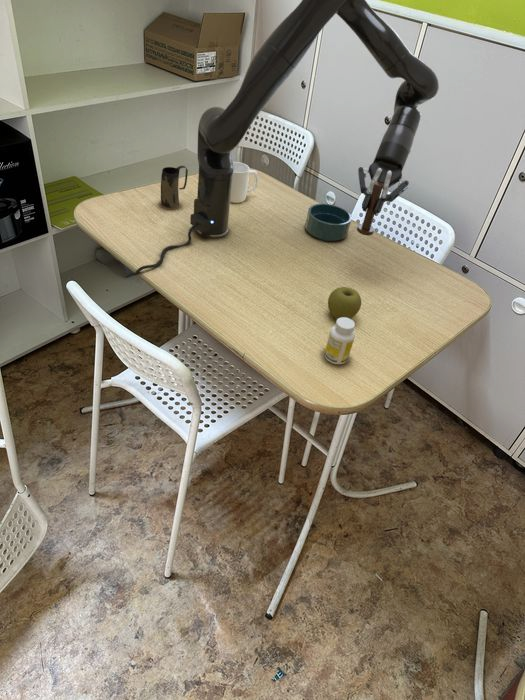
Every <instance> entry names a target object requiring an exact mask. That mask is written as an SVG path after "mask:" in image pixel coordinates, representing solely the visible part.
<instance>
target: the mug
mask: <svg viewBox="0 0 525 700" xmlns="http://www.w3.org/2000/svg"><path fill="white" fill-rule="evenodd" d="M181 169H185V174H184V175H185V178H184V184H183V186H182V187H179V183H180V181H179V179H180V171H181ZM188 172H189V170H188V168H187V166H185V165H179V166H177V167H173V166H165V167H164V168H162V170H161V177H160V206H161V207H162V208H163V209H165V210H168V211H169V210H171V211H173V210H177V209H179V208H180V197H179V196H180V195H179V190H180V191H181V190H185V189H186V186H187V182H188Z"/></svg>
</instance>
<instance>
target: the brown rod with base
mask: <svg viewBox="0 0 525 700" xmlns="http://www.w3.org/2000/svg"><path fill="white" fill-rule="evenodd" d="M382 190H383V183H381V182H375V183H374V187H373V190H372V194H371V197H370V201H369V204H368V208H367V210H366V212H365V215H364V218H363V221H362V223H360V224H358V225H357V227H356V232H357V233H359V234H360V235H363V236H372V235H374V234H375V233H374V232H375V228H374V226H372V225H373V221H374V218H375V215H374V210H375V207H376V205H377V202H378V200H379V198H380V197H381V194H382Z"/></svg>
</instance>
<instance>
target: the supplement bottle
mask: <svg viewBox="0 0 525 700" xmlns="http://www.w3.org/2000/svg"><path fill="white" fill-rule="evenodd" d="M355 327H356V323H355V321H354V320H353V319H352V318H350V319H349V318H346V317H341V318H338V319H337V318H336V321H335V325H334V326H332V327H331V329H330V331H329V336H328V337H327V338H328V339H327V342H326V345H325V350H324V357H325V359H326V360H327V361H328V362H330V363H331V364H333V365H343V364H345V363H347V362H348V359H349V358H350V355H351V350H352V347H353V344H354V342H355V338H356V337H355V336H356V333H355V331H354V330H355Z"/></svg>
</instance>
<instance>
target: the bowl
mask: <svg viewBox="0 0 525 700" xmlns="http://www.w3.org/2000/svg"><path fill="white" fill-rule="evenodd" d="M351 223H352V215H351V212H349V211H348V210H346V209H345V208H342V207H341V206H338V205H335V204H329V203H316V204H313V205H311V206H310V207H309V208H308V210H307V215H306V220H305V224H304V228H305V231H306V232H307V233H309V234H310V235H311V236H312V237H314V238H316V239H318V240H321V241H325V242H336V241H341V240H343V239H345V238H346V237H347V236H348V234H349V230H350V228H351V227H350V226H351Z"/></svg>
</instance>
